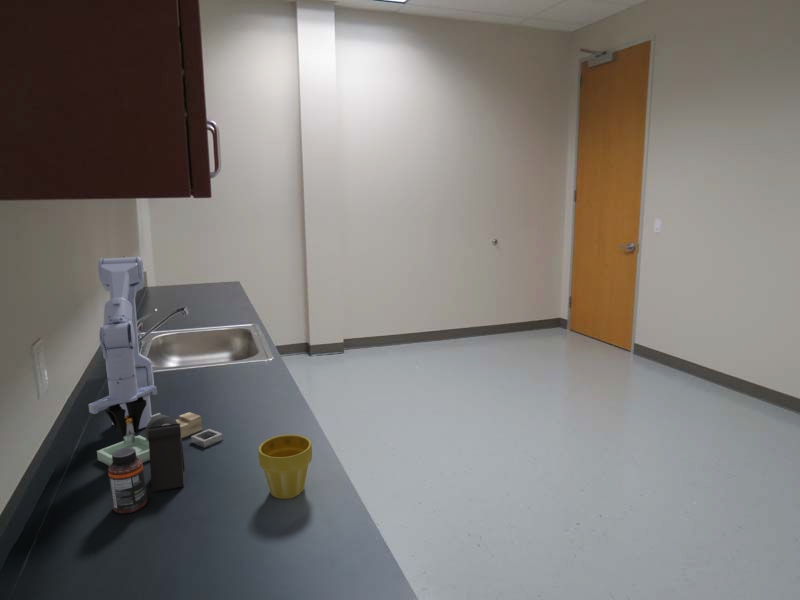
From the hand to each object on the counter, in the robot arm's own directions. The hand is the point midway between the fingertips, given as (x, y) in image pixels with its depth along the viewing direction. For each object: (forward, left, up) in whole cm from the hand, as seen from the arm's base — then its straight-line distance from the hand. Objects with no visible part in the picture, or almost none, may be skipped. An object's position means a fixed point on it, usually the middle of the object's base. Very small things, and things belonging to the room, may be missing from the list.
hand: (128, 433), depth 123 cm
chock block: (-2, +15, -6) cm, 16 cm away
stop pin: (0, 0, -2) cm, 2 cm away
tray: (0, 0, -6) cm, 6 cm away
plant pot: (+41, +10, -6) cm, 43 cm away
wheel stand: (0, +8, -6) cm, 10 cm away
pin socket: (+7, +15, -6) cm, 18 cm away
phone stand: (+17, -1, -6) cm, 18 cm away
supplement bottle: (+20, -11, -6) cm, 24 cm away
